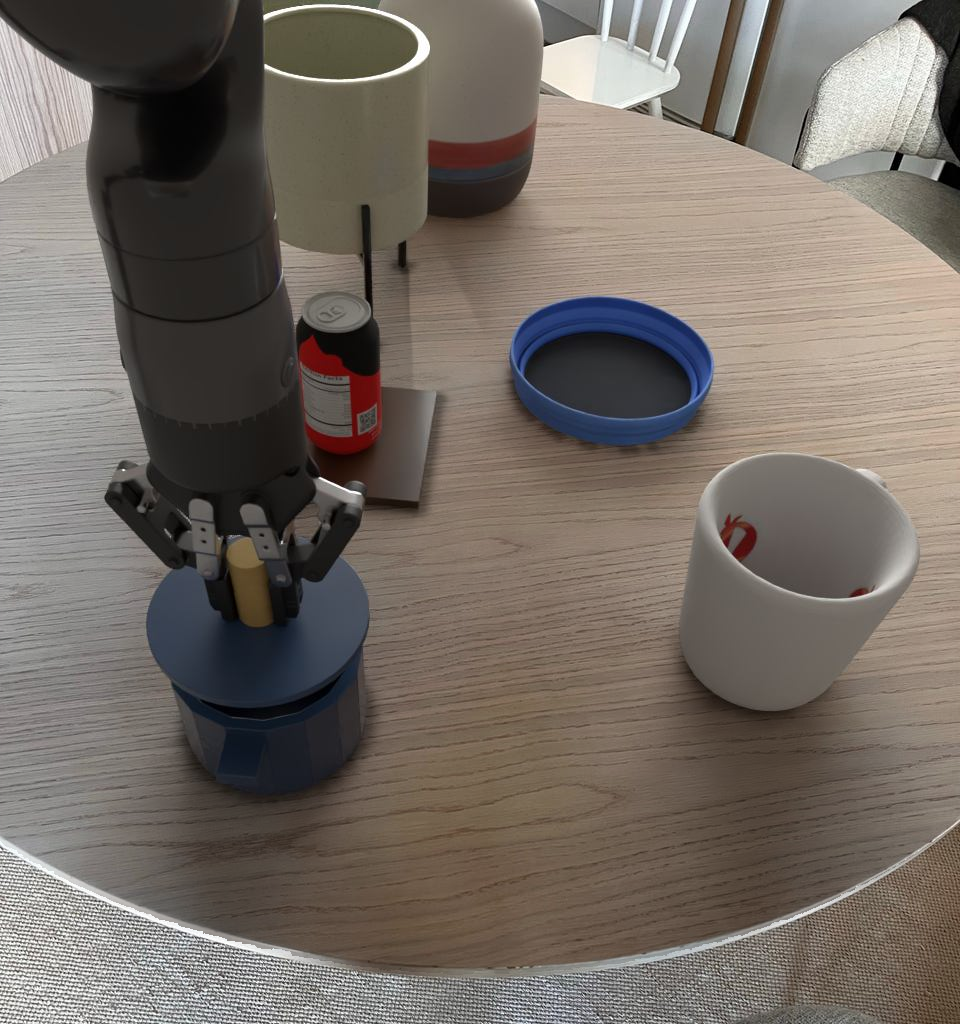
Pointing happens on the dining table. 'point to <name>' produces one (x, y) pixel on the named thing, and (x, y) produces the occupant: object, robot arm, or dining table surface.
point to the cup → (790, 576)
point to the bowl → (610, 369)
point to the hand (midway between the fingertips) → (258, 610)
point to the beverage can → (339, 372)
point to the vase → (478, 99)
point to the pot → (278, 735)
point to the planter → (347, 129)
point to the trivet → (388, 451)
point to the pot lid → (256, 633)
